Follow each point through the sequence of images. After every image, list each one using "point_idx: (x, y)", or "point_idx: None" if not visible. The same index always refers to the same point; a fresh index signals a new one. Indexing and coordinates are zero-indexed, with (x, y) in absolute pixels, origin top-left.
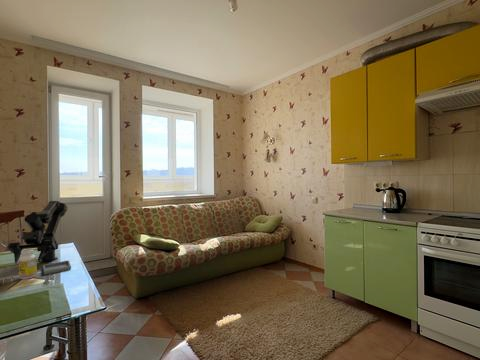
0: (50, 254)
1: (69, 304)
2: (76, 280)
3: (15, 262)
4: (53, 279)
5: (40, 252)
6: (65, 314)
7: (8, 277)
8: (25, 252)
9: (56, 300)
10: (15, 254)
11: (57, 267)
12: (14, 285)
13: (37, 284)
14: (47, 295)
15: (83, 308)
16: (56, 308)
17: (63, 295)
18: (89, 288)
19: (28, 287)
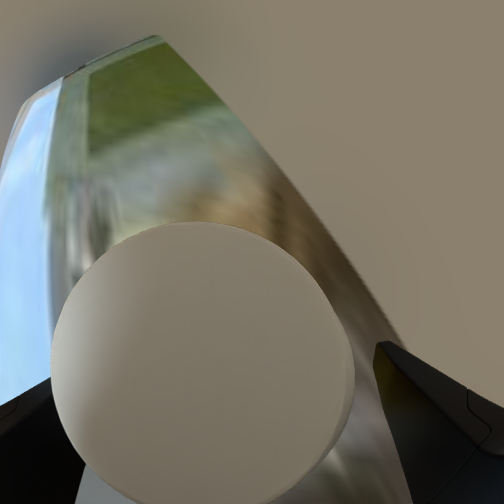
0: None
1: (58, 97)
2: (9, 234)
3: (379, 343)
4: (75, 273)
5: (28, 410)
6: (71, 74)
7: None
8: (170, 225)
9: (75, 105)
10: (467, 406)
11: (107, 498)
12: (268, 229)
13: (136, 218)
14: (92, 124)
15: (44, 92)
16: (80, 83)
17: (58, 127)
18: (5, 166)
19: (170, 188)
